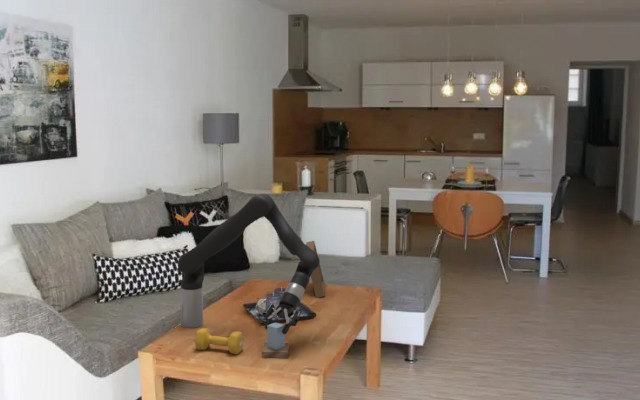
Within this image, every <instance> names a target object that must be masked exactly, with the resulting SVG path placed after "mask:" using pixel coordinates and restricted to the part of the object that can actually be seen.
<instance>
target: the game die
mask: <svg viewBox="0 0 640 400" xmlns="http://www.w3.org/2000/svg"><path fill="white" fill-rule="evenodd" d="M266 299H267V298H259V297H257V302H256V304H255V306H253V308H254V309H255V310H256V311H257V313H258V315H259V314H260V315H264V314H263V313H265V312H266Z"/></svg>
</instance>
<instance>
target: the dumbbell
mask: <svg viewBox="0 0 640 400" xmlns="http://www.w3.org/2000/svg"><path fill="white" fill-rule="evenodd" d="M244 342H245V341H244V335H243V333H242V332H241V331H237V330H236V331H233V332H232V333H231V334H230V335H229V337H225V336H219V335H211V332H210V330H209V328H207V327H202V328H201V327H200V328H199V329H198V330H197V331H196V333H195V337H194V345H195V348H196V350H198V351H205V350H207V349H208V347H209V346H210V345H213V346H220V347H227V348H228V351H229V353H230V354H232V355H239V354H240V353H241V351H242V349H244V348H243V347H244Z"/></svg>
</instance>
